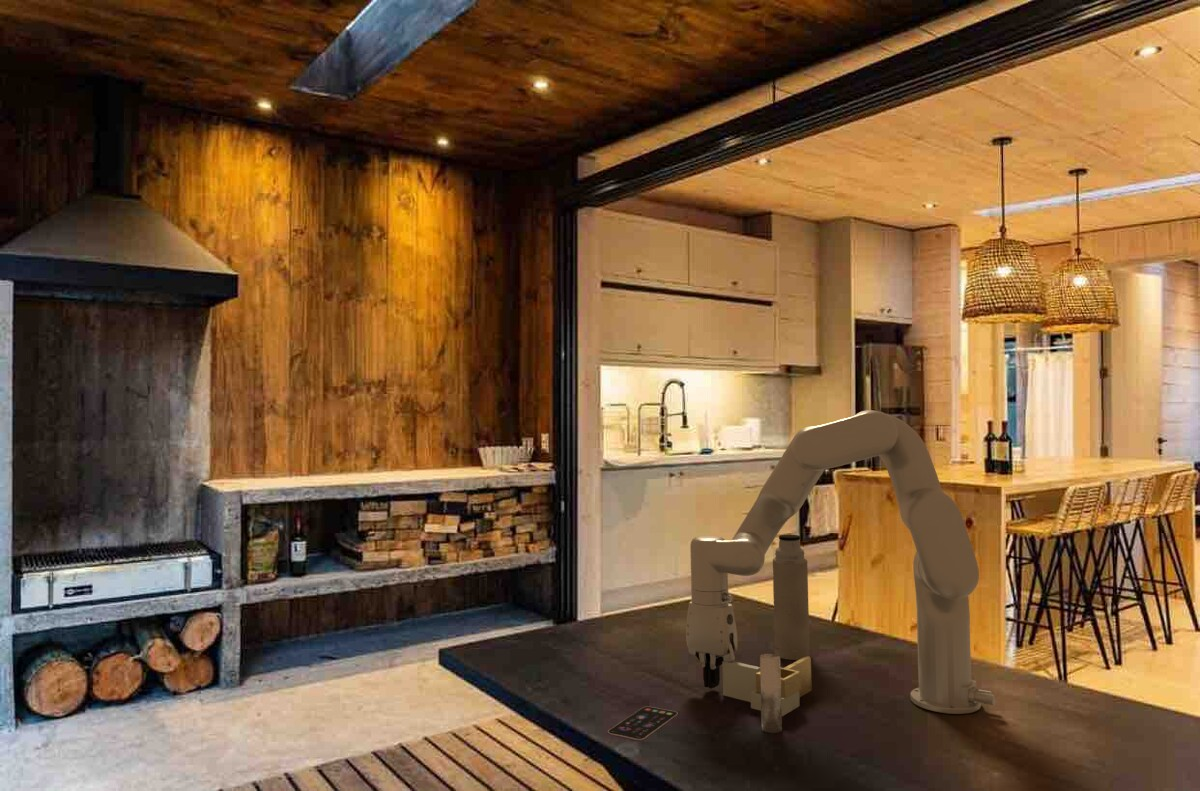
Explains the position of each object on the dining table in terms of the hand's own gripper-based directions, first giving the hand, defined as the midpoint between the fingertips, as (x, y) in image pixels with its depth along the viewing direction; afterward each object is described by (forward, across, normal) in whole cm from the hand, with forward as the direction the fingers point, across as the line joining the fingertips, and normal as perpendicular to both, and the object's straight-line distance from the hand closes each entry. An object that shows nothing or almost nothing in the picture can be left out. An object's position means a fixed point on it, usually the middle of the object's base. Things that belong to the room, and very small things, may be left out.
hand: (711, 685), depth 166 cm
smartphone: (+2, 0, +22) cm, 22 cm away
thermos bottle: (+1, -1, -32) cm, 32 cm away
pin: (+1, -19, +10) cm, 22 cm away
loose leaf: (+1, -11, 0) cm, 11 cm away
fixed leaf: (+1, -15, -5) cm, 16 cm away
